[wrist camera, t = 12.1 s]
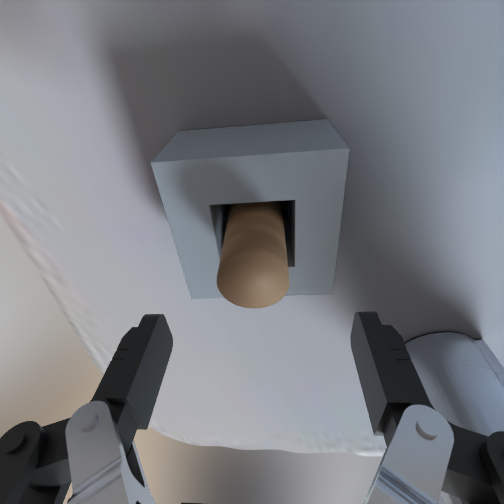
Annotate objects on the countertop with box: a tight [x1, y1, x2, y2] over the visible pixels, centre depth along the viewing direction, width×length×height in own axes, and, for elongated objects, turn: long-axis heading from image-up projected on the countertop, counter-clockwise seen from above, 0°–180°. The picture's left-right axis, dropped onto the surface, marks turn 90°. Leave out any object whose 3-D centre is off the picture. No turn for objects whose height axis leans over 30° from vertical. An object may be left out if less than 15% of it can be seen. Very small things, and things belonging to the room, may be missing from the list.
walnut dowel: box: [216, 201, 290, 308], centre depth 18 cm, size 4×4×10 cm
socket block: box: [151, 119, 350, 299], centre depth 20 cm, size 10×10×6 cm
